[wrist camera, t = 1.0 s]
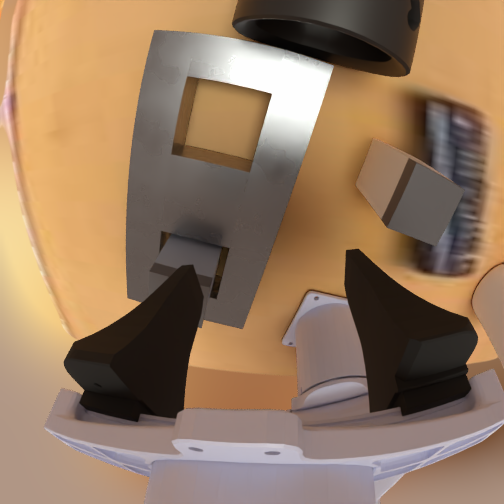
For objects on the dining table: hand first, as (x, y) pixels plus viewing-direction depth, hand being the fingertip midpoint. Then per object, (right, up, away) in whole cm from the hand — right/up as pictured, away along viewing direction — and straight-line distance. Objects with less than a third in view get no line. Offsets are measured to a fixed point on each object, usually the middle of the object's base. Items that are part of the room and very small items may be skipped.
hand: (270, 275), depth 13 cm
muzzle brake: (+6, +26, -5) cm, 27 cm away
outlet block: (-4, +6, +8) cm, 11 cm away
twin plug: (-5, +2, +11) cm, 12 cm away
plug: (+9, +7, +6) cm, 13 cm away
